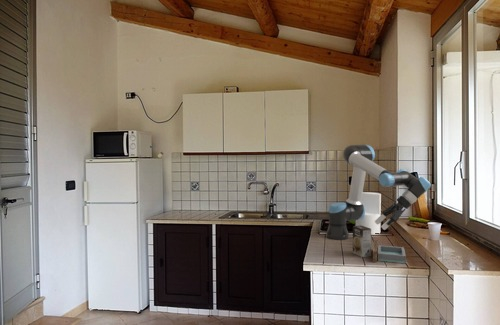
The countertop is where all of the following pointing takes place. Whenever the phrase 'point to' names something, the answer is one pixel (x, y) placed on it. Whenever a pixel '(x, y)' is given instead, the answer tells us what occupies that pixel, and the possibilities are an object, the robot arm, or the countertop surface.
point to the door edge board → (375, 250)
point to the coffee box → (362, 241)
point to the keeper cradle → (391, 254)
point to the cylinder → (371, 211)
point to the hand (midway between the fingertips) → (379, 225)
